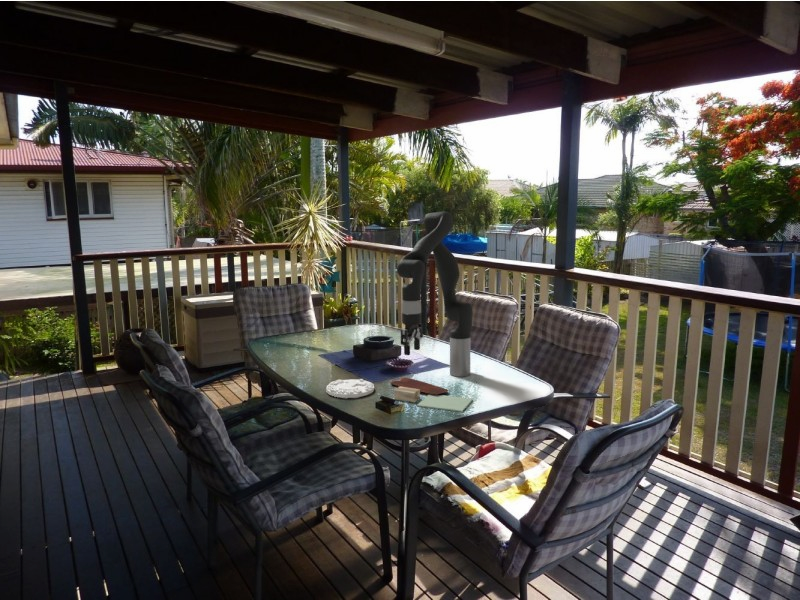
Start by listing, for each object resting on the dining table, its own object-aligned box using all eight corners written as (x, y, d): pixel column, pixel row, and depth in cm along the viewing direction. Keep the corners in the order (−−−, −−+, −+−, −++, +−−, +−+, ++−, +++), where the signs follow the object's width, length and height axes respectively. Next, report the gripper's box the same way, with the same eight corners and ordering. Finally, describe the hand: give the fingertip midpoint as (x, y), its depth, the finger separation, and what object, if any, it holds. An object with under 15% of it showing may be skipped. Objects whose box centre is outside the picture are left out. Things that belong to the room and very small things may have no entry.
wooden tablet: (388, 385, 249) (388, 381, 249) (404, 379, 256) (404, 376, 256) (434, 397, 231) (434, 393, 230) (451, 391, 238) (450, 387, 237)
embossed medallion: (383, 391, 243) (383, 384, 242) (347, 403, 229) (347, 396, 229) (353, 381, 257) (353, 375, 256) (316, 391, 243) (316, 385, 243)
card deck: (400, 395, 236) (400, 386, 236) (420, 399, 232) (419, 389, 231) (394, 399, 232) (394, 389, 231) (414, 402, 228) (414, 393, 227)
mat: (429, 395, 235) (429, 393, 235) (472, 400, 229) (472, 398, 228) (417, 406, 223) (417, 405, 223) (462, 412, 216) (462, 410, 216)
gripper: (411, 307, 232) (411, 347, 235) (394, 314, 219) (394, 355, 222) (428, 309, 228) (428, 349, 231) (411, 315, 216) (412, 357, 219)
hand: (412, 352), depth 227 cm, fingers open, 8 cm apart
